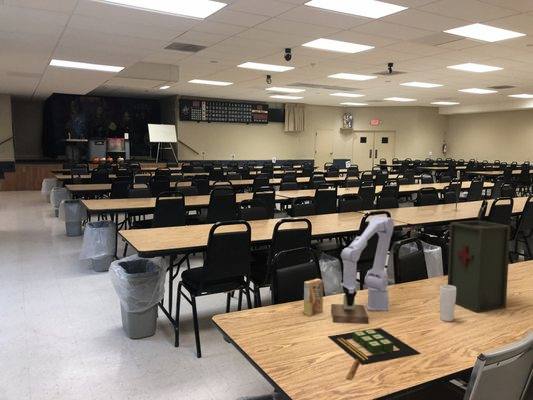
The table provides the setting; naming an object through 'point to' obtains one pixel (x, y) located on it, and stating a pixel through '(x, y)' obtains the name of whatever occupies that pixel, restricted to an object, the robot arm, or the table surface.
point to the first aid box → (479, 264)
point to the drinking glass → (447, 302)
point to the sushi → (373, 345)
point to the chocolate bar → (353, 370)
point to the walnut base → (349, 314)
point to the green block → (346, 303)
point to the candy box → (313, 297)
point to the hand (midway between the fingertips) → (349, 303)
